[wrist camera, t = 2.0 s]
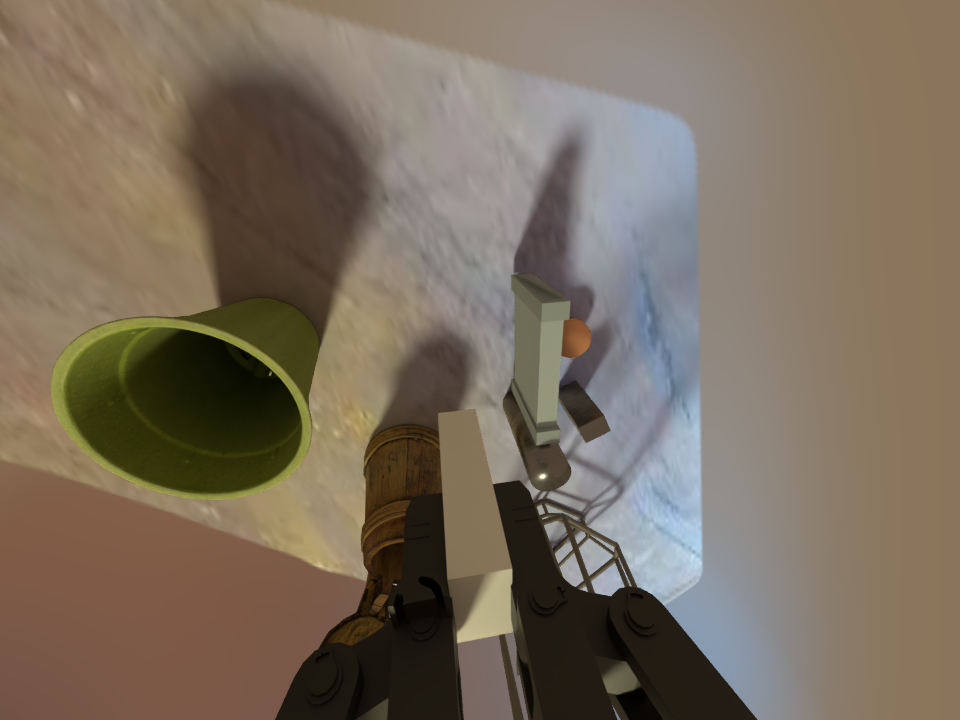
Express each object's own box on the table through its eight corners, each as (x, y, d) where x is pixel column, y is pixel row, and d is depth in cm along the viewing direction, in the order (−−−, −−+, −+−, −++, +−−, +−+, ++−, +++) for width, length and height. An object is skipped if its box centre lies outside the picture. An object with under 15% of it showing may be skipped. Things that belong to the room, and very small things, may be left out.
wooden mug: (328, 500, 36) (254, 740, 21) (392, 410, 33) (363, 618, 17) (401, 525, 40) (386, 748, 24) (467, 445, 36) (502, 648, 20)
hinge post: (497, 398, 34) (523, 471, 25) (525, 383, 34) (562, 452, 25) (510, 420, 35) (539, 497, 26) (538, 406, 35) (576, 478, 26)
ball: (539, 324, 31) (552, 339, 28) (573, 305, 31) (591, 318, 28) (553, 354, 33) (566, 371, 29) (586, 336, 32) (603, 352, 29)
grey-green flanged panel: (529, 388, 33) (559, 442, 26) (511, 390, 32) (536, 445, 25) (532, 273, 28) (570, 301, 21) (511, 274, 28) (542, 303, 20)
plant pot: (161, 347, 27) (8, 439, 17) (241, 233, 24) (114, 262, 14) (298, 423, 32) (242, 528, 22) (377, 334, 29) (354, 408, 19)
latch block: (554, 391, 35) (578, 427, 29) (575, 380, 34) (604, 415, 29) (561, 405, 35) (586, 443, 30) (582, 394, 35) (610, 430, 30)
